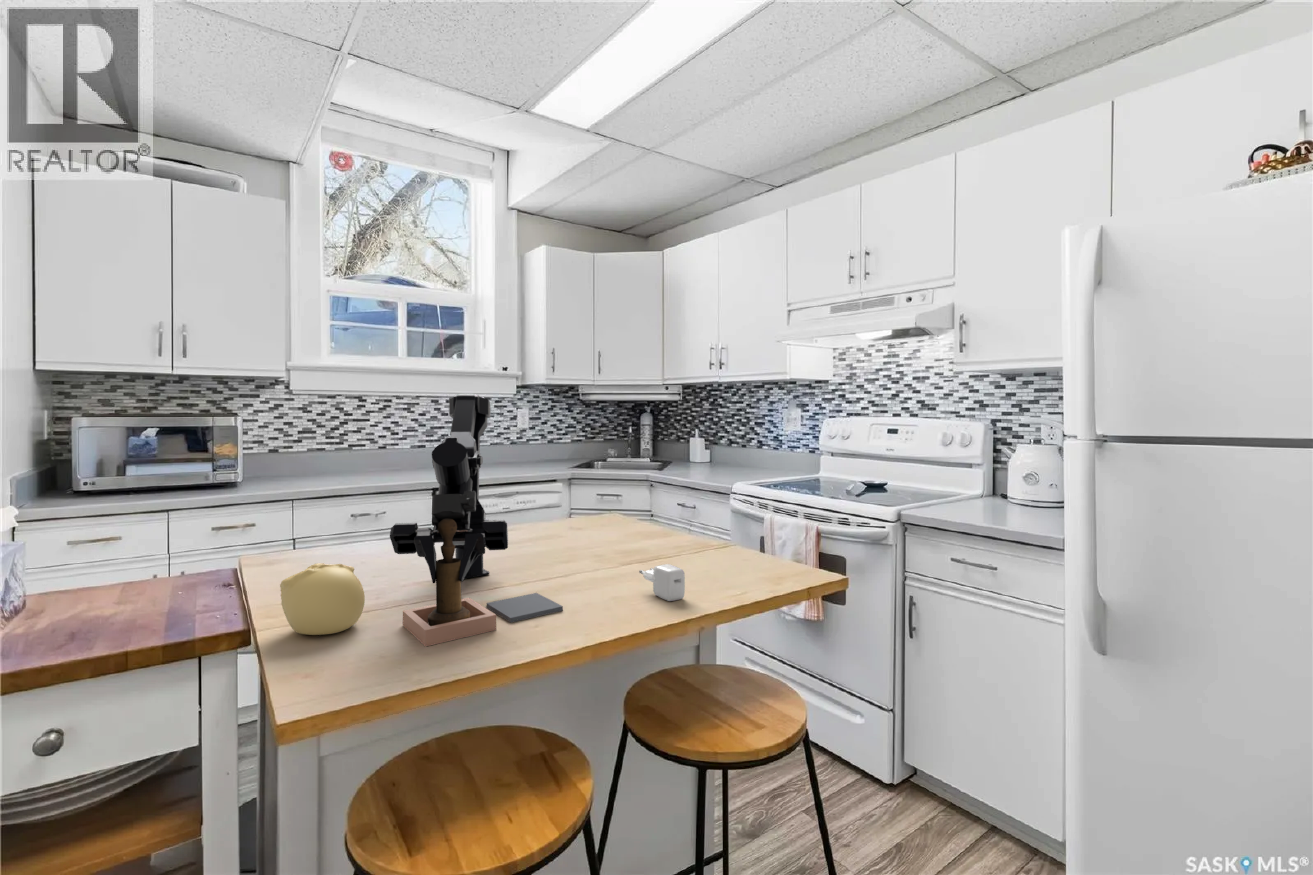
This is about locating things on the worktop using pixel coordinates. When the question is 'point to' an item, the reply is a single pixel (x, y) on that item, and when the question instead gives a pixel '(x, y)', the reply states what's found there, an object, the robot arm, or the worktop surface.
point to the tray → (431, 635)
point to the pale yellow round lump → (322, 599)
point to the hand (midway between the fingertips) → (447, 581)
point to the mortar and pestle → (447, 580)
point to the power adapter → (666, 581)
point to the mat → (524, 607)
